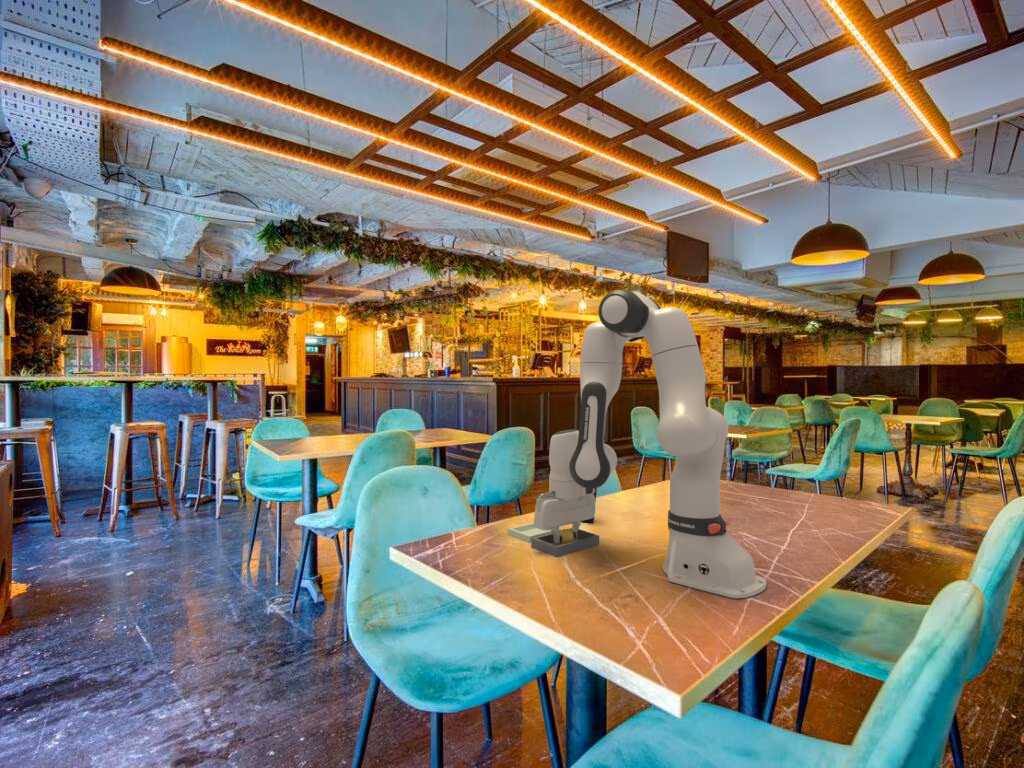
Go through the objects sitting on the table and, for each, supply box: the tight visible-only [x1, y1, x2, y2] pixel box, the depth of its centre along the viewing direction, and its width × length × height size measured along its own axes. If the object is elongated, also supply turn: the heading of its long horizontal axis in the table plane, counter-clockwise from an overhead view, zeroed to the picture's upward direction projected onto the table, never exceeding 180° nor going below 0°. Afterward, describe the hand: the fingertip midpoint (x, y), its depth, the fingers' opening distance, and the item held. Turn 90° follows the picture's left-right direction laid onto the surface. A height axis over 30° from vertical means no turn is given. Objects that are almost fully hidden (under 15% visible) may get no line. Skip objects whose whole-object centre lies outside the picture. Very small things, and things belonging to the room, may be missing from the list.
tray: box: [506, 521, 562, 544], centre depth 150 cm, size 10×12×2 cm
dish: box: [530, 527, 600, 558], centre depth 139 cm, size 10×16×3 cm, turn 129°
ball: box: [559, 528, 574, 544], centre depth 139 cm, size 4×4×4 cm
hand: (565, 540), depth 139 cm, fingers closed on ball, 4 cm apart
